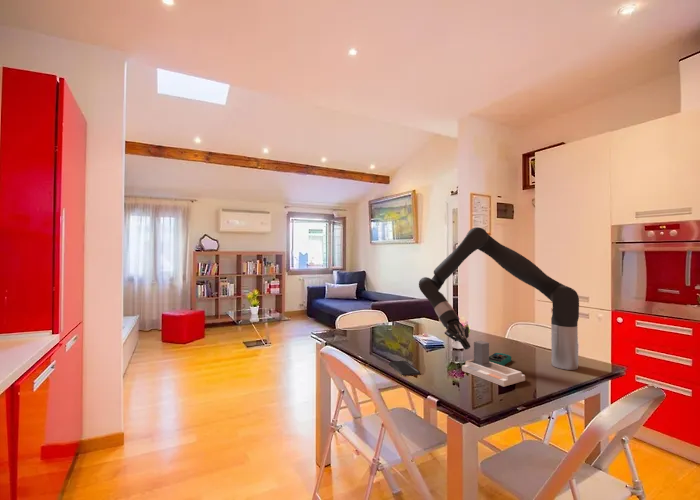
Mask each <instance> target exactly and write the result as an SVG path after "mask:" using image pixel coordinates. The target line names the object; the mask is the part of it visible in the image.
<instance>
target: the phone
mask: <svg viewBox="0 0 700 500" xmlns="http://www.w3.org/2000/svg"><path fill="white" fill-rule="evenodd" d="M388 365H389V366H390V367H391V368H393V369H394V370H395V371H396V372H397V373H398V372H399V373H398V374H399V375H401V376H402V375H403V377H406V376H405V375H408V376H418V375H420V374H421V371H420V370H419V369H417V368H416V367H415V366H413V365H412V364H411V363H409V362H408V361H406V360H397V361H396V360H395V361H389V362H388Z"/></svg>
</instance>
